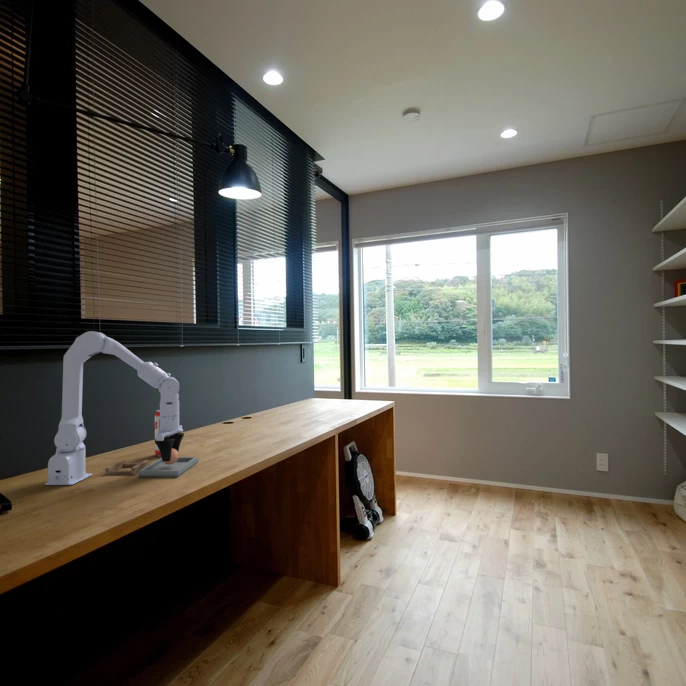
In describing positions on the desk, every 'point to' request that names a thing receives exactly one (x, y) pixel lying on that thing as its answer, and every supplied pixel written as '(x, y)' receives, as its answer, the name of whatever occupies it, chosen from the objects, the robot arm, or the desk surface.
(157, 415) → the beer can
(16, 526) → the desk surface
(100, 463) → the desk surface
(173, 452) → the ball
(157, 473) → the tray
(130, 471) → the frame
